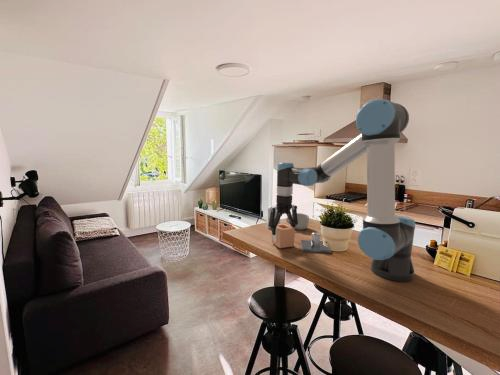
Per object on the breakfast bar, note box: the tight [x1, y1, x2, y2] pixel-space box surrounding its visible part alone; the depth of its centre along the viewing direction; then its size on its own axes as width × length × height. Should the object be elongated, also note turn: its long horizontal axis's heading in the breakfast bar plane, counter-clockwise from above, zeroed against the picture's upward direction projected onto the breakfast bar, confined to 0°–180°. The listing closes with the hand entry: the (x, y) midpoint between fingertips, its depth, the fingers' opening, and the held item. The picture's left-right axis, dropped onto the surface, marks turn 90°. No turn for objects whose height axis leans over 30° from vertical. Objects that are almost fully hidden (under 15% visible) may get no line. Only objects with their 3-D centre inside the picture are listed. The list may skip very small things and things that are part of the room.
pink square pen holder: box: [271, 223, 296, 249], centre depth 126 cm, size 8×8×9 cm
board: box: [300, 231, 332, 254], centre depth 125 cm, size 12×13×7 cm
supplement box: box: [267, 205, 281, 230], centre depth 155 cm, size 7×7×13 cm
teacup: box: [285, 212, 310, 231], centre depth 154 cm, size 14×11×8 cm
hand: (282, 239), depth 127 cm, fingers closed on pink square pen holder, 8 cm apart
